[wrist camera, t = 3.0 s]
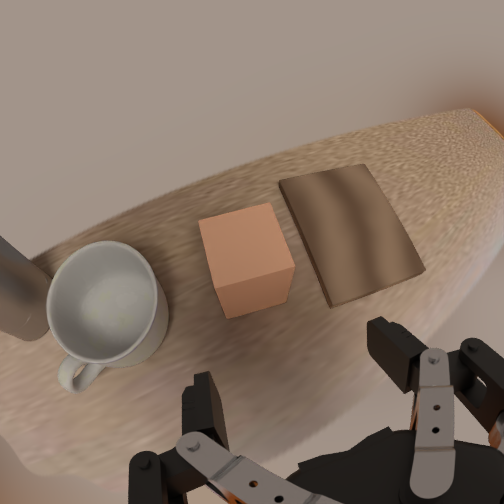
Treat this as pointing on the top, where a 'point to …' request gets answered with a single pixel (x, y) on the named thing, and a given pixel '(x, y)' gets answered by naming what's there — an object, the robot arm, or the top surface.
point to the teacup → (105, 311)
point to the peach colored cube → (247, 259)
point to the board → (350, 233)
